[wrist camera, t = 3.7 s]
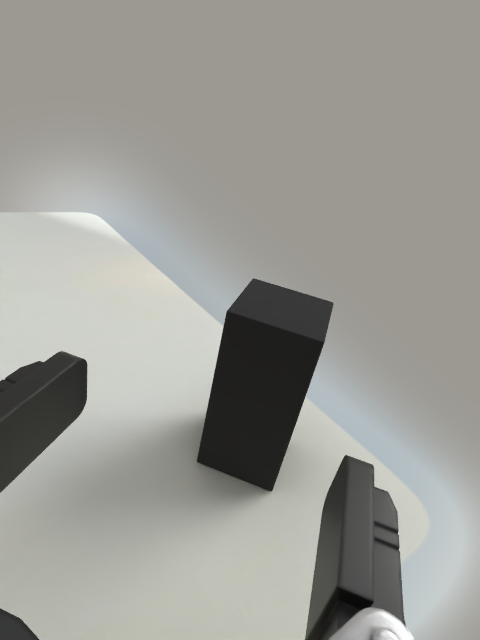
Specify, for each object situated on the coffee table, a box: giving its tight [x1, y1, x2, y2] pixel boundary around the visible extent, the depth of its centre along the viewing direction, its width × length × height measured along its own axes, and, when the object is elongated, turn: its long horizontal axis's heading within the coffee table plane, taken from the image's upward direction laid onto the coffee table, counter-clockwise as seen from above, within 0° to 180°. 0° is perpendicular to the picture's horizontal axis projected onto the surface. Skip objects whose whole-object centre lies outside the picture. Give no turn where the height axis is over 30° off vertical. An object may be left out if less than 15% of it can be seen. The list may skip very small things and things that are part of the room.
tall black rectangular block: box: [197, 279, 333, 491], centre depth 24 cm, size 5×5×11 cm
